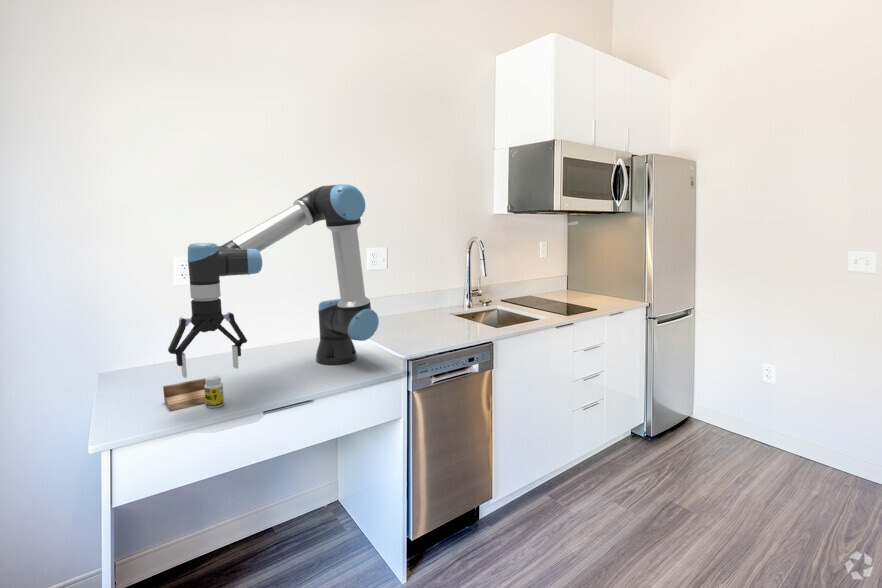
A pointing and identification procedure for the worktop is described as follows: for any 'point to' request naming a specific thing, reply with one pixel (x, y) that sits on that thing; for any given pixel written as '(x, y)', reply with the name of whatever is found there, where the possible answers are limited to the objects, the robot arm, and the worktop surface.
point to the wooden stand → (184, 394)
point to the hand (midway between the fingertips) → (210, 371)
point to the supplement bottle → (213, 392)
